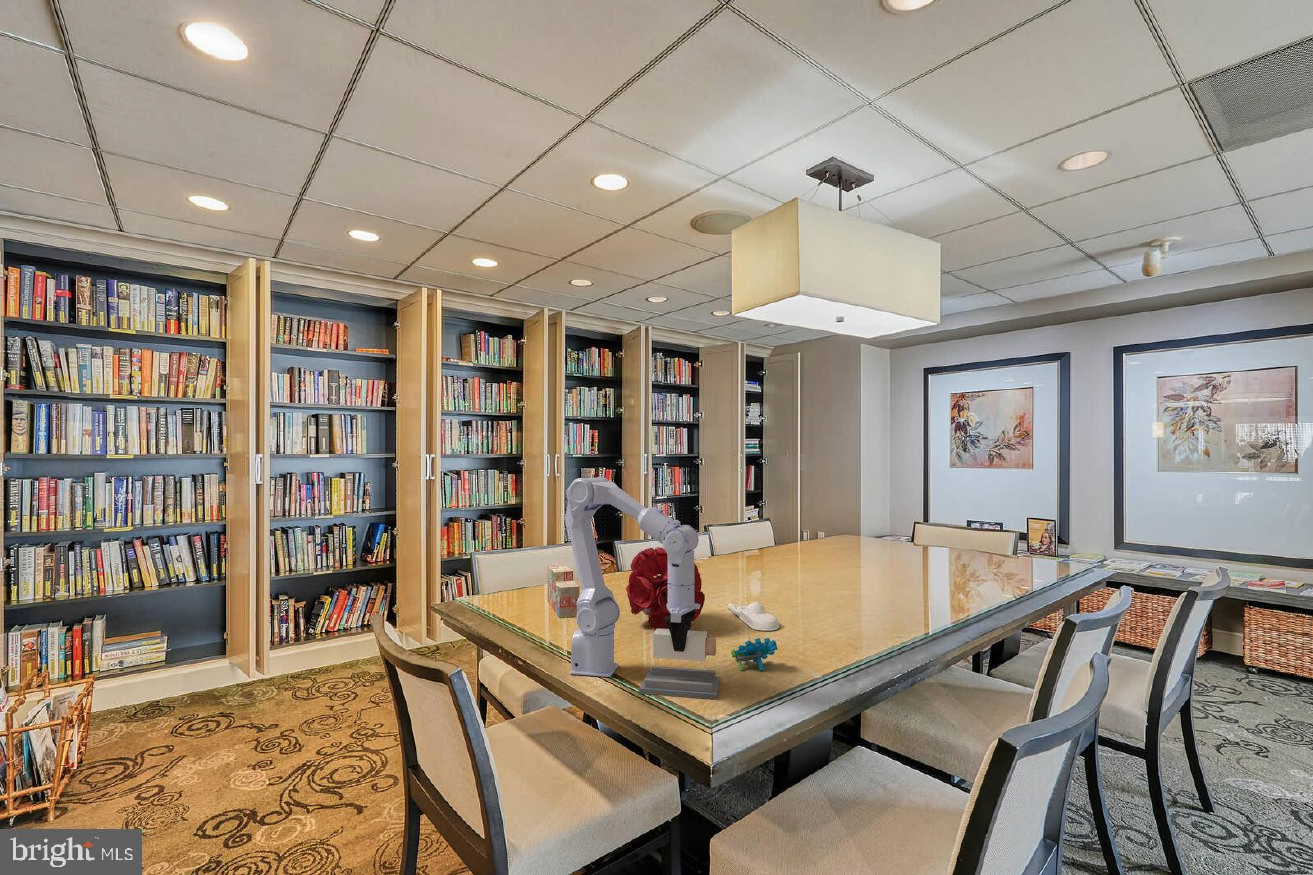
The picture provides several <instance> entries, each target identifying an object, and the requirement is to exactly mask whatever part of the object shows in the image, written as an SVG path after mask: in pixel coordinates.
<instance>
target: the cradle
mask: <svg viewBox="0 0 1313 875" xmlns="http://www.w3.org/2000/svg"><path fill="white" fill-rule="evenodd" d="M716 674H717V673H716V669H713V670H712V669H700V668H699V669H697V668H687V667H686V668H685V667H671V666H669V667H668V666H660V665H659V666H656V665H652V666H651V670H648V672H647V674H646V675H645V677H644V679H643V681H642V683H641V684H640V686H639V688H638V694H641V695H653V696H654V695H656V696H669V697H678V698H679V697H681V698H693V699H704V700H717V699H718V695H719V689H720V685H721V676H720V675H719V676H718V675H716Z"/></svg>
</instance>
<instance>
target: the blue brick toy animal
mask: <svg viewBox="0 0 1313 875" xmlns="http://www.w3.org/2000/svg"><path fill="white" fill-rule="evenodd" d="M744 644H745V645H743V644H741V645H738V647H737V648H738V650H737V649H736V650H735V649H732V650H731V651H730V654H731V657H732V658H735V662H736V663H738V667H739V671H740V672H743V671H744V667H743V662H746V663H747V662H750V661H752V662H757V665H758V668H759V671H760V672H764V671H765V667H764V664H763V660H767V659H768V655H769V656H774V655H775V654H776V653H775V651H777V650H778V649H779V648H778V645H777V641H776V640H773V639H772V640H771V638H769V637H767V638H763V642H762V641H761V638H760V637H758V638H755V639H754V642H752V641H751V640H747V641H745V642H744Z"/></svg>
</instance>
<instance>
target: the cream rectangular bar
mask: <svg viewBox="0 0 1313 875" xmlns="http://www.w3.org/2000/svg"><path fill="white" fill-rule="evenodd" d="M652 636H653V637H652V639H653V640H652V647H653V648H652V654H653V655H652V658H653V659H667V660H683V661H695V662H706V659H707V656H710V657H711V656H712V657H716V655H717V654H716V653H717V638H716V637H709V636H708V631H707V630H706V631H703V630H702V631H701V630H691V629H690V630H688V633H687V639H686V646H685V650H684V652H679V651H674V648H673V644H672V638H671V634H670V631H669V629H654V632H653V634H652Z"/></svg>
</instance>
